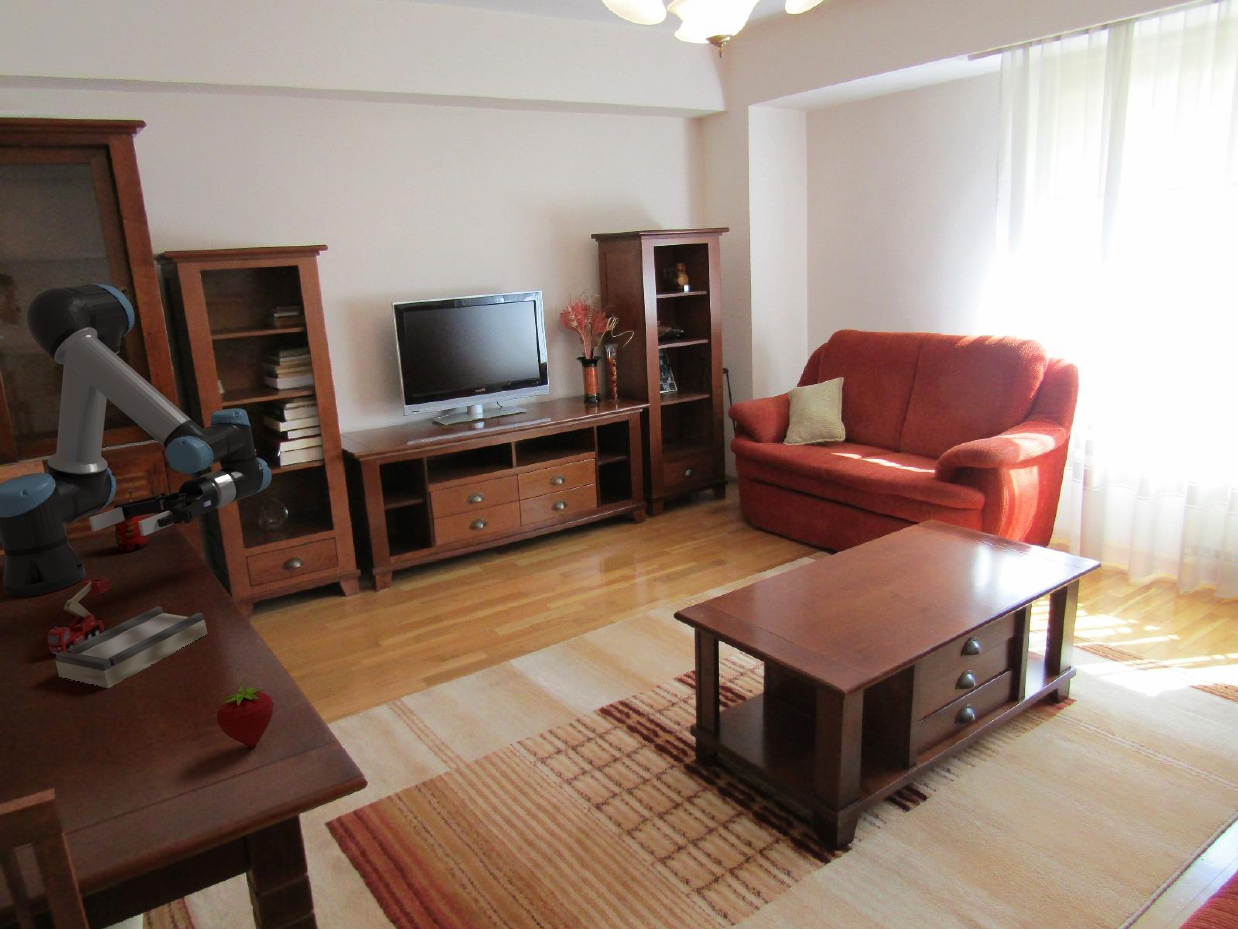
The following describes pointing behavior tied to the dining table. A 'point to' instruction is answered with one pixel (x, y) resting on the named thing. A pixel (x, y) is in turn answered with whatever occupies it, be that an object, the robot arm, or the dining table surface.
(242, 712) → the strawberry
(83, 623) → the toy fire truck
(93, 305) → the robot arm
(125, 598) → the dining table surface
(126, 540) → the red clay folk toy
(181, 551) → the dining table surface
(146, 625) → the dock
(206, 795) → the dining table surface
